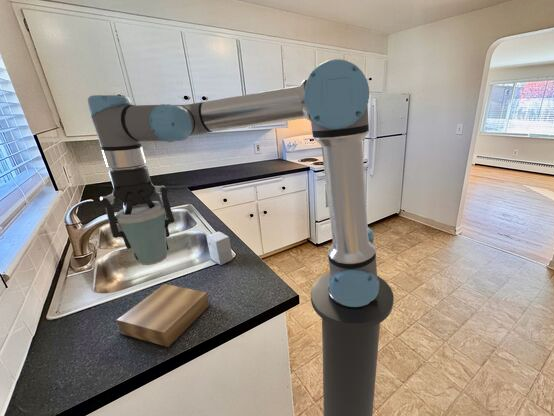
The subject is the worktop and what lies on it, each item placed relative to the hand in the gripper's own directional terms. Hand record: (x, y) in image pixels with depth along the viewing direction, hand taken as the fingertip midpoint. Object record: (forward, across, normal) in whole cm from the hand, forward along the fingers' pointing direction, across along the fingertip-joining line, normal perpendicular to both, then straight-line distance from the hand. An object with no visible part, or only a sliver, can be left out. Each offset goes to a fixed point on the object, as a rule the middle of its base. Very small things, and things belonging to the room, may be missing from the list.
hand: (152, 252), depth 71 cm
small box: (+22, -25, -20) cm, 39 cm away
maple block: (+22, 0, 0) cm, 22 cm away
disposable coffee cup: (+2, 0, 0) cm, 2 cm away
